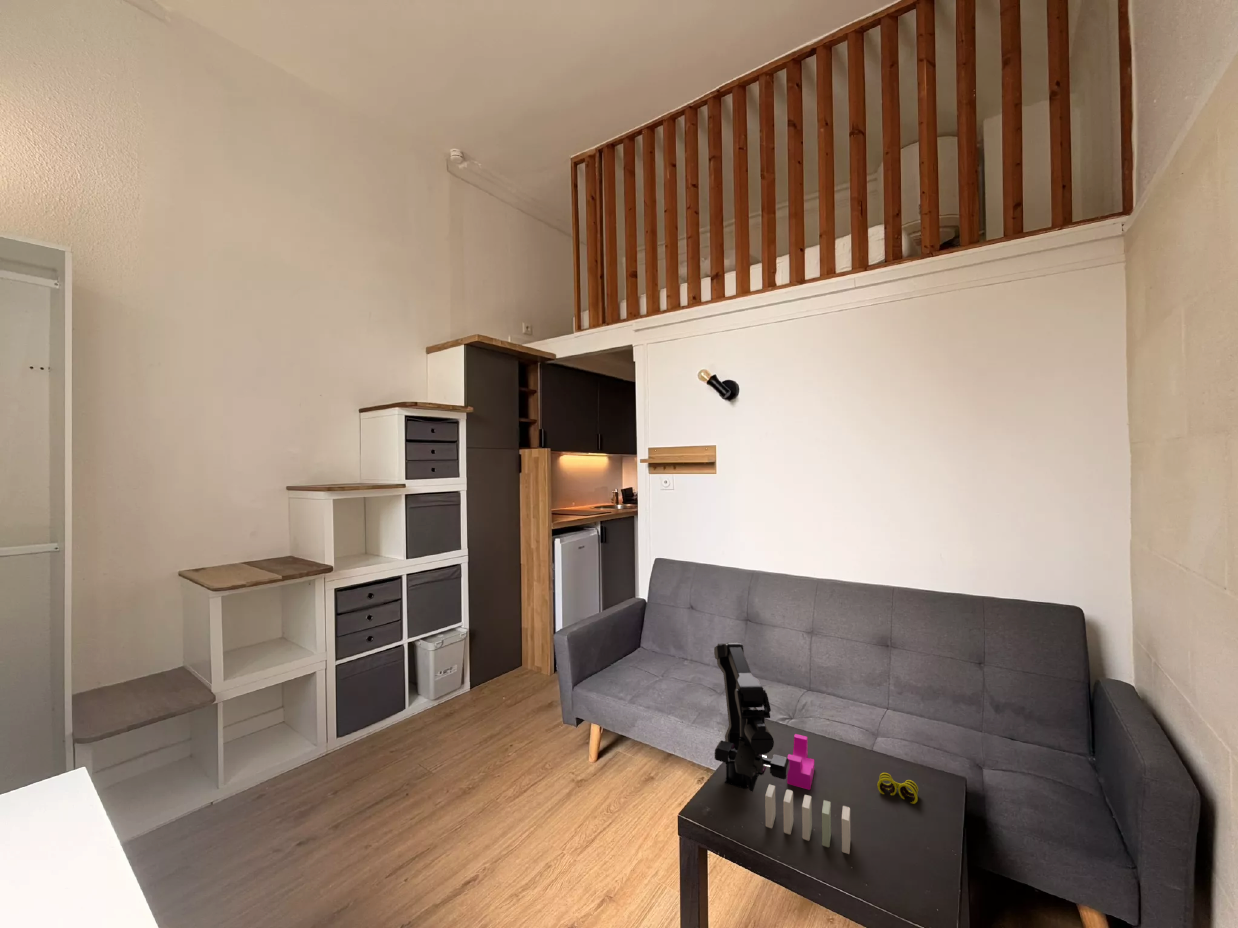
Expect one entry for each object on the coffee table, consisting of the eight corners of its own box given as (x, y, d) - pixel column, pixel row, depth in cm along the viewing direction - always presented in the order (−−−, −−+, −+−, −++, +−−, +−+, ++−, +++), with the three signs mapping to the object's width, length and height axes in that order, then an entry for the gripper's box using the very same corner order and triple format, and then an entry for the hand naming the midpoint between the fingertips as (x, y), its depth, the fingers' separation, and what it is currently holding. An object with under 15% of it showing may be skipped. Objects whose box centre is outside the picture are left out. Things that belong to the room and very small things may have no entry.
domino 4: (841, 851, 117) (841, 818, 117) (843, 837, 122) (842, 805, 122) (849, 853, 116) (848, 820, 116) (850, 839, 121) (850, 807, 121)
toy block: (810, 790, 139) (809, 764, 139) (787, 784, 142) (786, 758, 142) (816, 762, 153) (815, 738, 153) (795, 757, 156) (795, 733, 156)
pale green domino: (821, 844, 119) (821, 812, 119) (823, 831, 124) (823, 799, 124) (829, 847, 119) (828, 814, 119) (831, 833, 123) (830, 801, 123)
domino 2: (783, 832, 124) (783, 800, 124) (786, 819, 128) (786, 789, 128) (790, 834, 123) (789, 802, 123) (793, 821, 127) (793, 790, 127)
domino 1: (765, 826, 126) (764, 795, 126) (769, 813, 130) (768, 783, 130) (772, 828, 125) (771, 797, 125) (775, 815, 129) (775, 785, 129)
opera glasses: (918, 797, 136) (918, 779, 136) (917, 808, 132) (917, 789, 132) (879, 784, 142) (879, 767, 142) (877, 794, 137) (877, 777, 137)
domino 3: (802, 838, 121) (801, 806, 122) (804, 825, 126) (804, 794, 126) (809, 840, 121) (808, 808, 121) (811, 827, 125) (811, 796, 125)
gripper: (707, 737, 127) (708, 797, 127) (781, 757, 118) (782, 821, 118) (720, 718, 137) (721, 773, 137) (789, 735, 128) (790, 794, 128)
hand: (751, 790), depth 130 cm, fingers closed
